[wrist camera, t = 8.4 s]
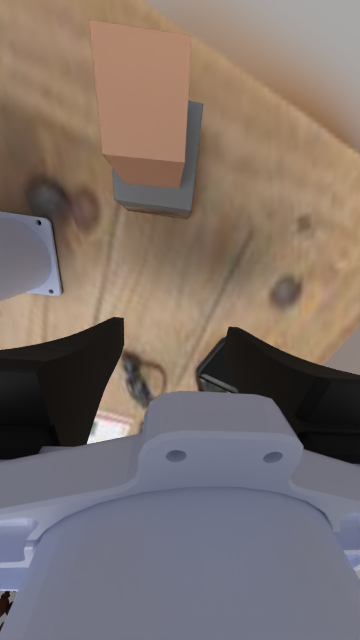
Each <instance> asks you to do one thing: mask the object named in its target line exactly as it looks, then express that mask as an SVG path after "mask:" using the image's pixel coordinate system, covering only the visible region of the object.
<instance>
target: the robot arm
mask: <svg viewBox="0 0 360 640" xmlns="http://www.w3.org/2000/svg"><path fill="white" fill-rule="evenodd" d="M39 220H40V221H41V225H39V223H38V221H39ZM51 290H53V292H51ZM22 293H32V294H41V295H51V296H59V295H61V294H62V289H61V282H60V276H59V270H58V263H57V257H56V250H55V244H54V238H53V231H52V225H51V222H50V221H49V220H48V219H46V218H42V217H35V216H28V215H21V214H14V213H7V212H0V301H2V300H5V299H8V298H11V297H14V296H16V295H19V294H22ZM123 347H124V318H119V317H113V318H110V319H108V320H106V321H104V322H102V323H99V324H97V325H95V326H93V327H91V328H88V329H86V330H84V331H81V332H79V333H76V334H73V335H70V336H67V337H64V338H61V339H57V340H53V341H49V342H45V343H41V344H36V345H31V346H25V347H19V348H12V349H5V350H0V591H18V592H17V595H16V597H15V599H14V602H13V604H12V606H11V608H10V611H9V613H8V615H7V618H6V620H5V622H4V624H3V627H2V629H1V631H0V640H360V579H359V578H358V576H357V574H356V572H355V571H357V570H360V375H356V374H352V373H348V372H343V371H340V370H336V369H332V368H329V367H325V366H322V365H318V364H315V363H312V362H309V361H306V360H304V359H301V358H298V357H295V356H293V355H291V354H288V353H286V352H284V351H281V350H279V349H277V348H275V347H273V346H271V345H269V344H267V343H265V342H264V341H262V340H260V339H258V338H257V337H255V336H253V335H251V334H250V333H248V332H246V331H244V330H242V329H240V328H238V327H229V328H228V332H227V336H226V340H225V343H224V347H223V355H224V359H225V363H226V365H227V367H228V370H229V372H230V374H231V377H232V379H233V381H234V383H235V386H236V388H237V390H238V393H239V394H236V393H215V392H195V391H177V392H170V393H164V394H162V395H161V396H159V397H158V398H156V399H155V400H153V401H151V402H150V403H149V406H148V408H147V410H146V412H145V415H144V422H143V428H142V433H141V434H136V435H131V436H126V437H121V438H116V439H111V440H106V441H101V442H96V443H91V444H87V441H88V438H89V435H90V431H91V428H92V425H93V422H94V419H95V416H96V413H97V410H98V407H99V404H100V401H101V398H102V395H103V393H104V390H105V388H106V385H107V383H108V381H109V379H110V377H111V375H112V373H113V371H114V369H115V367H116V365H117V362H118V360H119V358H120V356H121V353H122V350H123Z"/></svg>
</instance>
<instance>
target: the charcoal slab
mask: <svg viewBox="0 0 360 640" xmlns="http://www.w3.org/2000/svg"><path fill="white" fill-rule="evenodd" d="M202 112H203V104H202V103H197V102H192V101H188V110H187V128H186V147H185V163H184V168H183V173H182V178H181V183H180V187H179V189H176V188H164V187H153V186H141V185H130V184H125V183H124V181H123V180H122V179H121V177H120V176H119V175H118V174H117V172H116V171H115V170H114V168H113V190H114V200H115V201H117V202H118V203H119V204H121V205H123V206H130V207H138V208H145V209H152V210H160V211H167V212H175V213H182V214H189V212H190V211H191V207H192V198H193V189H194V181H195V172H196V163H197V155H198V146H199V137H200V129H201V120H202Z"/></svg>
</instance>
